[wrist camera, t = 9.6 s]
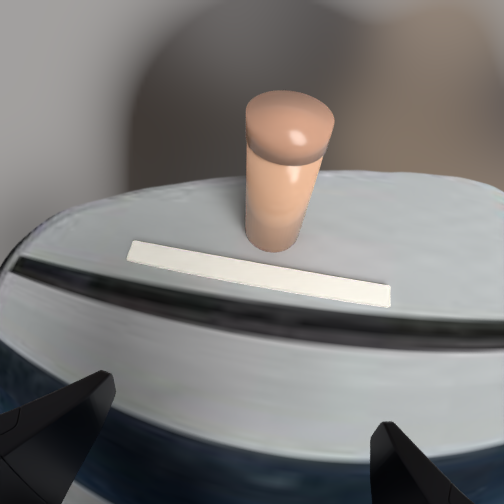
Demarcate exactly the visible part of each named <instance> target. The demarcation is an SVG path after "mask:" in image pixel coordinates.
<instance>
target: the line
mask: <svg viewBox="0 0 504 504" xmlns="http://www.w3.org/2000/svg"><path fill="white" fill-rule="evenodd" d="M127 261H130V262H134V263H139V264H144V265H148V266H153V267H158V268H162V269H167V270H172V271H177V272H182V273H187V274H192V275H197V276H202V277H207V278H212V279H217V280H222V281H228V282H233V283H238V284H244V285H249V286H255V287H260V288H266V289H271V290H277V291H283V292H289V293H295V294H301V295H307V296H313V297H319V298H325V299H332V300H338V301H345V302H351V303H358V304H365V305H372V306H379V307H386V308H389V307H390V286H389V285H383V284H377V283H371V282H365V281H359V280H353V279H347V278H341V277H335V276H330V275H324V274H318V273H312V272H306V271H301V270H295V269H289V268H283V267H278V266H272V265H266V264H261V263H255V262H249V261H244V260H238V259H233V258H227V257H222V256H216V255H211V254H205V253H200V252H194V251H189V250H183V249H178V248H173V247H167V246H162V245H156V244H151V243H146V242H140V241H135V240H133V243H132V245H131V248H130V251H129V253H128V256H127Z"/></svg>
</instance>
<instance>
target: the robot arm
mask: <svg viewBox="0 0 504 504" xmlns="http://www.w3.org/2000/svg"><path fill="white" fill-rule="evenodd" d="M115 394H116V389H115V384H114V379H113V375H112V374H111V373H108V372H106V371H103V370H100V371H98V372H96V373H94V374H91V375H89V376H87V377H85V378H83V379H81V380H79V381H76V382H74V383H72V384H70V385H68V386H66V387H63V388H61V389H59V390H57V391H55V392H52V393H50V394H48V395H46V396H43V397H41V398H39V399H37V400H34V401H32V402H30V403H27V404H25V405H23V406H21V407H18V408H16V409H13V410H11V411H8V412H5V413H3V414H0V504H61V503H62V501H63V499H64V497H65V496H66V494H67V492H68V490H69V488H70V486H71V484H72V482H73V480H74V478H75V476H76V474H77V473H78V471H79V469H80V467H81V465H82V463H83V461H84V460H85V458H86V456H87V454H88V452H89V450H90V449H91V447H92V445H93V443H94V441H95V440H96V438H97V436H98V434H99V432H100V430H101V428H102V426H103V424H104V421H105V419H106V416H107V414H108V411H109V409H110V407H111V404H112V402H113V399H114V397H115ZM370 483H371V494H372V504H474V503H473V502H472V501H471V500H469V499H468V498H467V497H466V496H465V495H464V494H463V493H462V492H461V491H460V490H459V489H458V488H457V487H456V486H455V485H454V484H453V483H451V481H450V480H449V479H448V478H447V477H446V476H445V475H444V474H443V473H442V472H441V471H440V470H439V469H438V468H437V467H436V466H435V465H434V464H433V463H432V462H431V461H430V460H429V459H428V458H427V457H426V456H425V455H424V453H423V452H422V451H421V450H420V449H419V448H418V447H417V446H416V445H415V444H414V443H413V442H412V441H411V440H410V439H409V438H408V437H407V436H406V435H405V434H404V433H403V431H402V430H401V429H400V428H399V427H398V426H397V425H396V424H395V423H394V422H391V421H389V422H382V423H380V425H379V426H378V427H377V429H376V430H375V432H374V433H373V435H372V437H371V440H370Z"/></svg>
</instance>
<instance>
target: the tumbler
mask: <svg viewBox="0 0 504 504" xmlns="http://www.w3.org/2000/svg"><path fill="white" fill-rule="evenodd" d="M333 126H334V116H333V114H332V112H331V111H330V109H329V108H327V106H326V105H325V104H323V103H322V102H321V101H319V100H317V99H315V98H313V97H311V96H309V95H306V94H302V93H299V92H294V91H283V90H282V91H281V90H280V91H270V92H266V93H263V94H260V95H258V96H256V97H254V98H253V99H252V100H251V101H250V102H249V103H248V105H247V107H246V141H247V166H246V216H245V231H246V235H247V237H248V239H249V241H250V242H251V243H252V244H253V245H254V246H255V247H257V248H259V249H261V250H263V251H267V252H281V251H284V250H286V249H288V248H290V247H291V246H292V245H293V244H294V243H295V242H296V240H297V238H298V235H299V232H300V229H301V226H302V223H303V220H304V217H305V213H306V210H307V207H308V204H309V201H310V198H311V194H312V191H313V188H314V185H315V181H316V178H317V175H318V172H319V168H320V165H321V162H322V158H323V155H324V154H325V152H326V150H327V147H328V144H329V140H330V137H331V133H332V130H333Z"/></svg>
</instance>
